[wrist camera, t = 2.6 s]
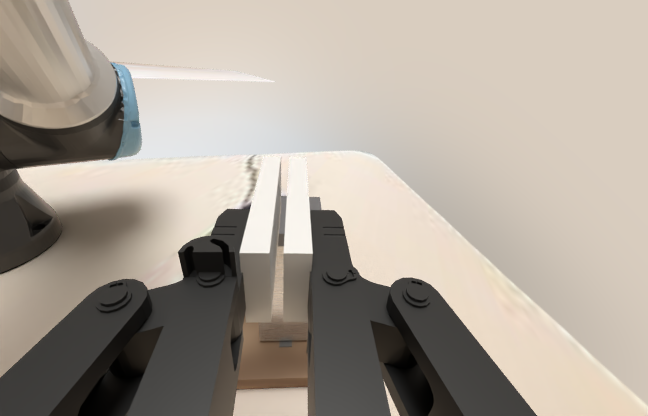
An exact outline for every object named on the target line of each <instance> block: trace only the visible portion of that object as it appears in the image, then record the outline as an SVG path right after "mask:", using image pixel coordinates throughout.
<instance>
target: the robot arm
mask: <svg viewBox="0 0 648 416" xmlns="http://www.w3.org/2000/svg"><path fill="white" fill-rule="evenodd" d="M141 145H142V138H141V128H140V123H139V112H138V106H137V100H136V95H135V90H134V86H133V81H132V78H131V74H130V72H129V70H128V69H127V68H126V67H125V66H123V65H118V64H115V63H111V62H110V61H109V60H108V58H107V57H106V56H105V55H104V54H103V53H102V52H101V51H100V50H99V49H98V48H97V47H95V46H94V45H93V44H91V43H90V42H88V41H86V40H85V39H84V37H83V35H82V32H81V30H80V28H79V25H78V23H77V21H76V18H75V16H74V14H73V11H72V9H71V6H70V4H69V2H68V0H0V273H2V272H4V271H7V270H9V269H12V268H14V267H16V266H19V265H21V264H23V263H25V262H27V261H29V260H30V259H32V258H34V257H36V256H37V255H39V254H40V253H42V252H43V251H45V250H46V249H47V248H49V247H50V246H51V245H52V244H53V243H54V242H55V241H56V240H57V239H58V237H59V236H60V234H61V231H62V225H61V222H60V220H59V218H58V216H57V214H56V212H55V211H54V210H53V209H52V208H51V207H50V206H49V205H48V204H47V203H46V202H45V201H44V200H43V199H42V198H41V197H39V196H38V195H37V194H36V193H35V192H34V191H33V190H32V189H31V188H30V187H29V186H28V185H26V184H25V183H24V182H23V181H22V179H21V178H20V176H19V174H18V172H17V170H16V169H19V168H28V167H37V166H47V165H57V164H67V163H77V162H87V161H97V160H106V159H107V160H115V159H117V158H121V157H128V156H133V155H136V154H137V153H138V152H139V151H140V149H141ZM280 215H281V156H265V155H264V156H263V160H262V164H261V168H260V172H259V176H258V180H257V184H256V188H255V192H254V196H253V200H252V204H251V208H250V210H248V209H227V210H226V211H224V212H223V213H222V214H221V215H220V216H219V217H218V218H217V221H216V223H215V226H214V228H213V231H212V233H211V236H204V237H200V238H197V239H194V240H191V241H190V242H188V243H187V244H185V245H183V247H182V248H181V249H180V250H179V252H178V254H179V259H180V263H181V267H182V272H183V276H184V278H183V280H181V281H179V282H177V283H174V284H171V285H168V286H163V287H159V288H155V289H150V290H148V289H147V287H146V286H145V285H144V284H143V282H140V281H137V280H135V279H122V280H118V281H114V282H110V283H108V284H106V285H104V286H101V287H99V288H98V289H96V290H95V291H94V292H92V293H91V294H90V295H88V296H87V297H86V298H85V299H84V300H83V301H82V302H81V303H80V304H79V305H78V306H77V307H75V308H74V309H73V310H72V311H71V312H70V313H69V314H68V315H67V316H66V317H65V318H64V319H63V320H62V321H61V322H59V323H58V324H57V325H56V326H55V327H54V328H53V329H52V330H51V331H50V332H49V333H48V334H47V335H46V336H45V337H43V338H42V339H41V340H40V341H39V342H38V343H37V344H36V345H35V346H34V347H33V348H32V349H31V350H30V351H29V352H27V353H26V354H25V355H24V356H23V357H22V358H21V359H20V360H19V361H18V362H17V363H16V364H15V365H14V366H12V367H11V368H10V369H9V370H8V371H7V372H6V373H5V374H4V375H3V376H2V377H1V378H0V416H233V410H234V403H235V396H236V390H237V383H238V376H239V369H240V362H241V355H242V348H243V341H244V337H243V323H244V317H245V319H246V323H250V322H271V319H272V308H273V296H274V285H275V273H276V261H277V250H278V238H279V227H280ZM283 322H308V336H307V350H306V353H308V416H391V414H390V409H389V404H388V400H387V395H386V391H385V386H384V382H385V384H386V386H387V388H388V391H389V393H390V395H391V397H392V399H393V401H394V404H395V406H396V408H397V410H398V412H399V415H400V416H537V415H536V414H535V413H534V411H533V410H532V409H531V408H530V406H529V405H528V404H527V403H526V401H525V400H524V399H523V398H522V396H521V395H520V394H519V393H518V391H517V390H516V389H515V388H514V386H513V385H512V384H511V383H510V381H509V380H508V379H507V378H506V376H505V375H504V374H503V373H502V371H501V370H500V369H499V368H498V366H497V365H496V364H495V362H494V361H493V360H492V359H491V357H490V356H489V355H488V354H487V352H486V351H485V350H484V349H483V347H482V346H481V345H480V344H479V342H478V341H477V340H476V339H475V337H474V336H473V335H472V334H471V332H470V331H469V330H468V329H467V327H466V326H465V325H464V324H463V322H462V321H461V320H460V319H459V317H458V316H457V315H456V314H455V312H454V311H453V310H452V309H451V307H450V306H449V305H448V304H447V302H446V301H445V300H444V299H443V297H442V296H441V295H440V294H439V292H438V291H437V290H436V289H434V288H433V287H432V286H431V285H430V284H428V283H426V282H424V281H422V280H419V279H415V278H401V279H399V280H396V281H395V282H394V283H393V284H392V285H391V287H387V286H384V285H380V284H376V283H373V282H370V281H368V280H366V279H364V278H362V277H361V276H360V275H359V272H358V270H357V269H355V268H354V267H353V265H352V262H351V258H350V253H349V249H348V244H347V240H346V236H345V231H344V226H343V222H342V218H341V217H340V216H339V215H338V214H337V213H336V212H335V211H334V210H310V205H309V190H308V175H307V160H306V157H289V169H288V186H287V203H286V220H285V237H284V257H283ZM383 380H384V382H383Z"/></svg>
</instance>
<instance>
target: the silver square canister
mask: <svg viewBox="0 0 648 416" xmlns="http://www.w3.org/2000/svg"><path fill="white" fill-rule="evenodd" d="M286 203H287V196H281V215H280V227H279V238H278V250H277V261H276V273H275V285H274V296H273V308H272V319H271V322H259V337H260V341H288V340H307V336H308V322H283V257H284V237H285V220H286ZM309 205H310V210H321V203H320V197H309Z"/></svg>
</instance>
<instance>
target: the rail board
mask: <svg viewBox="0 0 648 416" xmlns="http://www.w3.org/2000/svg"><path fill="white" fill-rule="evenodd" d="M243 337H244V341H243V348H242V355H241V362H240V369H239V376H238V383H237V389H256V388H282V387H308V353H306V350H307V340H288V341H260V337H259V322H250V323H246V319H245V317H244V323H243Z"/></svg>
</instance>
